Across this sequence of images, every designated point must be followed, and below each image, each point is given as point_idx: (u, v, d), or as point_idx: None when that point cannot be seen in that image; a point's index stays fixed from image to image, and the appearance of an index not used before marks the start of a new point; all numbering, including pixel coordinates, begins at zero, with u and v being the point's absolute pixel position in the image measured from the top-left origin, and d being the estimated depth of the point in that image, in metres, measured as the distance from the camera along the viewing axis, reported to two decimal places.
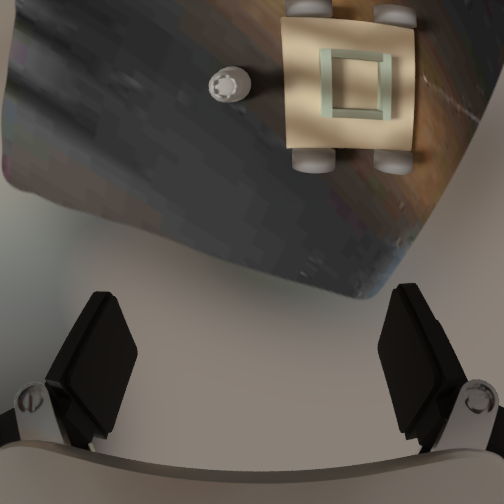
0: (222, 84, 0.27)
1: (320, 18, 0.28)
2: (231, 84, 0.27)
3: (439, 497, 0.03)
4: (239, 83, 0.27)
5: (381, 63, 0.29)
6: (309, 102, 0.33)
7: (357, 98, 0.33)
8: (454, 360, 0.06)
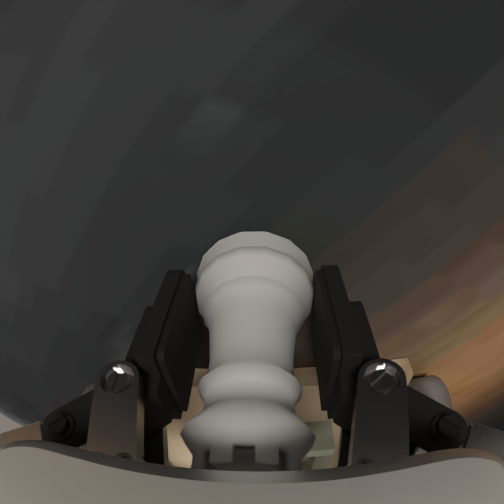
0: None
1: None
2: None
3: (439, 497, 0.03)
4: None
5: None
6: None
7: None
8: (357, 337, 0.07)
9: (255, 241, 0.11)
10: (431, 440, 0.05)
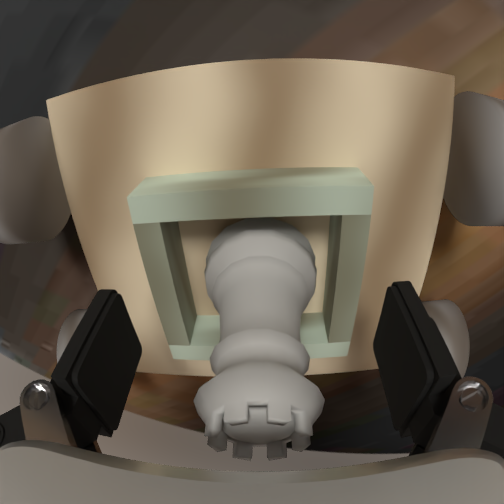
0: (268, 427, 0.07)
1: (444, 180, 0.11)
2: (266, 441, 0.07)
3: (439, 497, 0.03)
4: None
5: (321, 333, 0.14)
6: (179, 141, 0.11)
7: None
8: (447, 357, 0.06)
9: (261, 226, 0.12)
10: None
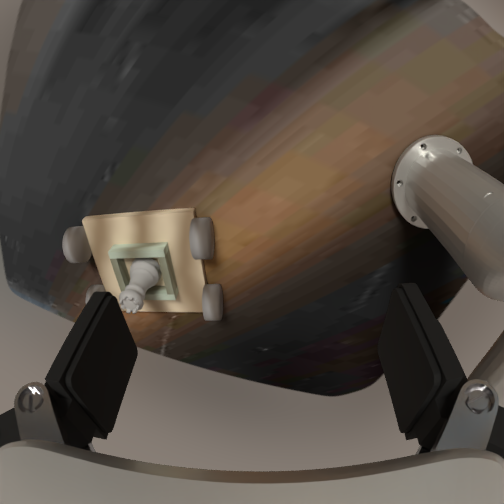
0: (130, 303, 0.36)
1: None
2: (132, 308, 0.37)
3: (439, 497, 0.03)
4: None
5: (166, 291, 0.43)
6: (120, 235, 0.40)
7: None
8: (454, 360, 0.06)
9: (143, 259, 0.41)
10: None
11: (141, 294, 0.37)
